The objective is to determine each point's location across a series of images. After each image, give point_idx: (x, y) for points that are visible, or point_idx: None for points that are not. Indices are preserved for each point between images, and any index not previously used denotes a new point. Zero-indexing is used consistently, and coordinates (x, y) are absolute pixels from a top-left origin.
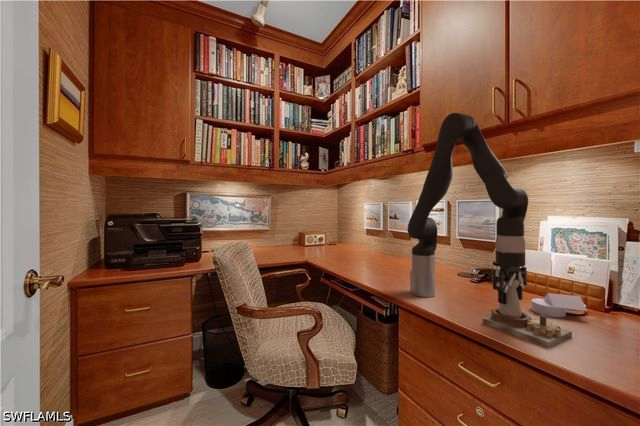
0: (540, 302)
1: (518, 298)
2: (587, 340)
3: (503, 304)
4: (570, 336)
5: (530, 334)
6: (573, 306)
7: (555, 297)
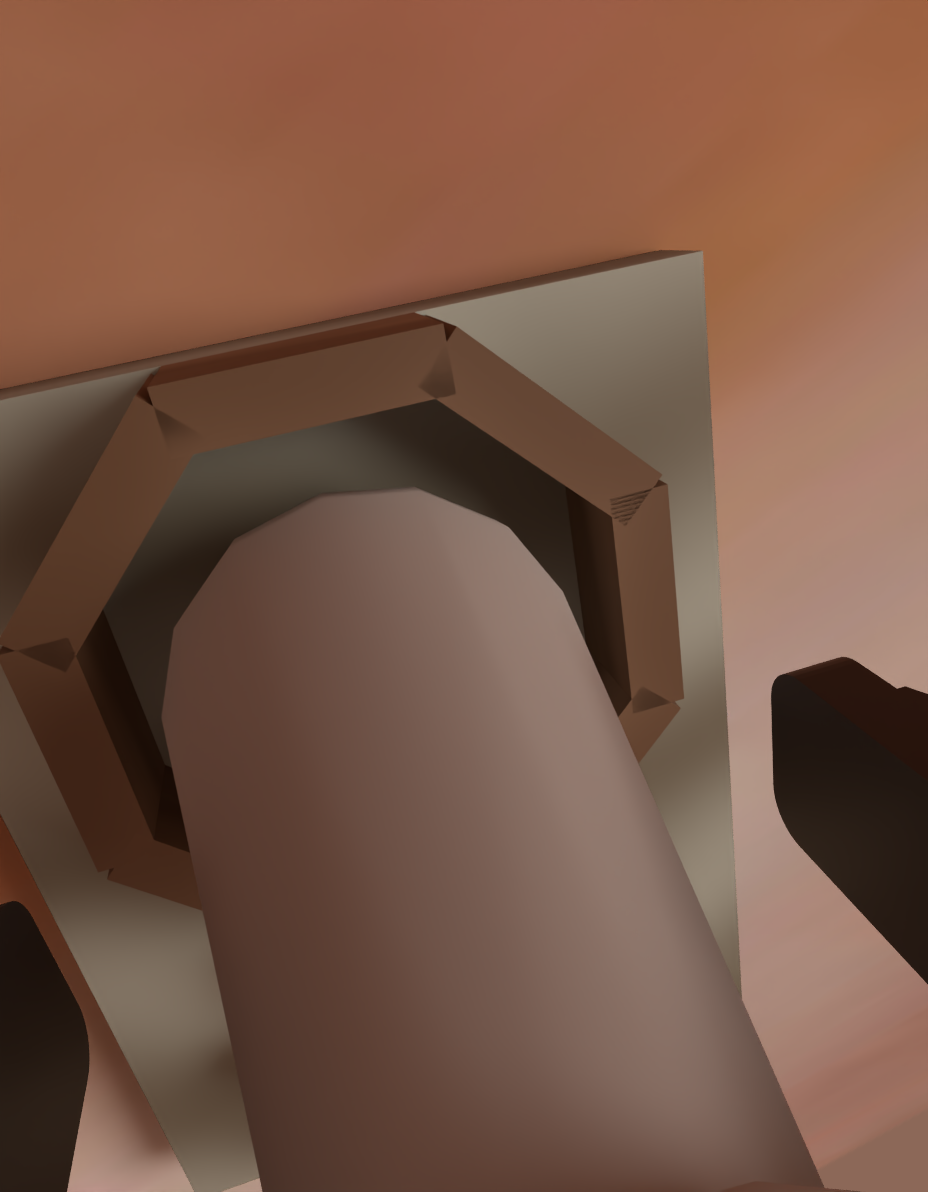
0: None
1: (795, 778)
2: (756, 1015)
3: (190, 811)
4: None
5: (168, 1056)
6: None
7: None
